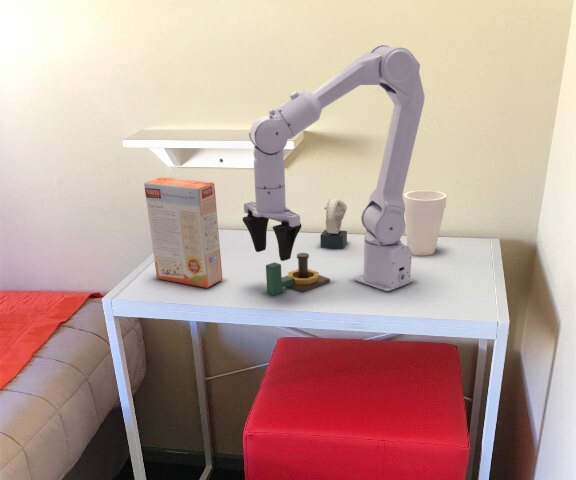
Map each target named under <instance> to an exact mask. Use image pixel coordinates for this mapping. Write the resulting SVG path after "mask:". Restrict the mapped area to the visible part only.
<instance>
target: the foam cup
mask: <svg viewBox="0 0 576 480" xmlns="http://www.w3.org/2000/svg"><path fill="white" fill-rule="evenodd" d="M403 194H404V195H403V200H404V204H405V212H404V220H405V231H406V246H408V247H409V248H410V250H411V255H413V256H430V255H433V254H435V253H436V249H437V245H438V244H437V243H438V239H439V236H440V231H441V226H442V221H443V216H444V213H445V208H446V207H447V193H444V192H442V191H437V190H429V189H421V190H419V189H418V190H410V191H407V192H405V193H403Z"/></svg>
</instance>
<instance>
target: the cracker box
mask: <svg viewBox="0 0 576 480" xmlns="http://www.w3.org/2000/svg"><path fill="white" fill-rule="evenodd" d="M143 185H144V192H145V193H144V194H145V200H146V208H147V215H148V222H149V229H150V238H151V245H152V246H151V247H152V252H153V253H152V254H153V259H154V267H155V273H156V278H157V279H158V280H164V281H169V282H172V283H173V282H174V283H179V284H185V285H190V286H194V287H199V288H205V289H209V288H210V287H212V286H214V285H215V284H218V283H220V282H221V281H223V267H222V255H221V248H220V247H221V246H220V245H221V244H220V234H219V222H218V210H217V199H216V187H215V182H212V181H202V180H191V179H182V178H173V177H172V178H171V177H163V176H162V177H157V178H153V179H151V180H148V181H145V182H144V183H143Z"/></svg>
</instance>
